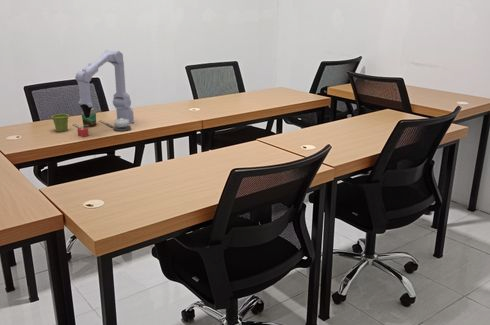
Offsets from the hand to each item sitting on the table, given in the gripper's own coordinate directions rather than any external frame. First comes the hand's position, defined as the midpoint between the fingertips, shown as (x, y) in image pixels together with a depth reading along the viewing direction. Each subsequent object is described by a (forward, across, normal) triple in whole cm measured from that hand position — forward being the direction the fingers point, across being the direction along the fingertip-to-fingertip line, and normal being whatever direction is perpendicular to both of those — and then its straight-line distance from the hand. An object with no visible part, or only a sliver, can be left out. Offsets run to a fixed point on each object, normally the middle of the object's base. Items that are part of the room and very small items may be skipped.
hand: (87, 117), depth 275 cm
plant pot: (+10, -16, -10) cm, 21 cm away
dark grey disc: (+9, +2, +19) cm, 21 cm away
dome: (+7, +2, +19) cm, 20 cm away
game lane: (+9, -14, +8) cm, 19 cm away
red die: (+9, +2, -4) cm, 10 cm away
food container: (+10, -16, +8) cm, 20 cm away
